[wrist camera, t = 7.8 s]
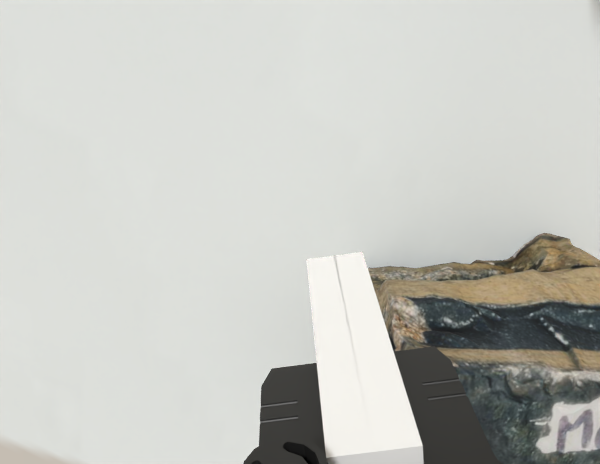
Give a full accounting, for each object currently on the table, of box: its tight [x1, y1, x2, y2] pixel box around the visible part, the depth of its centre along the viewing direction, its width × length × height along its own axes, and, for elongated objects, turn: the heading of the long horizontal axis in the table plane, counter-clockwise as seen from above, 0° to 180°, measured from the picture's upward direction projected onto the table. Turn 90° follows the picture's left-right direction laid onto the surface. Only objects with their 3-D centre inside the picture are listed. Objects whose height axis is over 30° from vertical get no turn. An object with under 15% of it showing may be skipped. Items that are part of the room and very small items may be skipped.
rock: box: [368, 233, 600, 464], centre depth 17 cm, size 9×9×6 cm
